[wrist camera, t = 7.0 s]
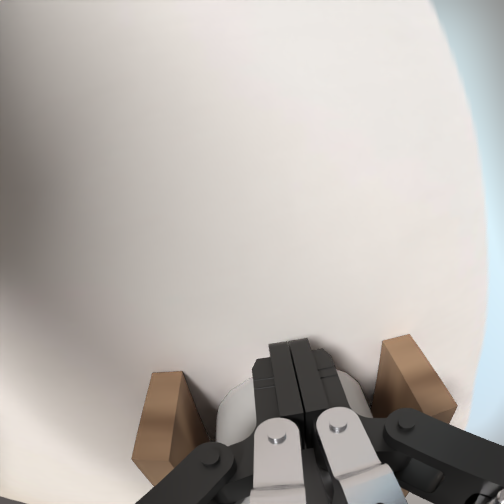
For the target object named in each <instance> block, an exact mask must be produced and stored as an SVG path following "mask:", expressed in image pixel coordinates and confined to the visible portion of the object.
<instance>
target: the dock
mask: <svg viewBox="0 0 504 504" xmlns="http://www.w3.org/2000/svg"><path fill="white" fill-rule="evenodd" d="M457 406H458V405H457V404H456V402H455V401H454V399H453V398H452V396H451V394H450V393H449V391H448V390H447V388H446V387H445V385H444V384H443V382H442V381H441V379H440V378H439V376H438V375H437V373H436V372H435V370H434V369H433V367H432V366H431V364H430V363H429V361H428V360H427V358H426V357H425V355H424V354H423V353H422V351H421V350H420V348H419V347H418V345H417V344H416V342H415V341H414V340H413V338H412V337H411V335H410V334H408V335H404V336H400V337H396V338H392V339H388V340H384V341H382V349H381V356H380V362H379V368H378V374H377V380H376V386H375V391H374V397H373V402H372V407H371V414H372V416H373V418H387V417H388V416H389V415H390V414H391V413H392V412H393V411H395V410H397V409H400V408H412V409H415V410H418V411H420V412H422V413H424V414H427V415H429V416H431V417H433V418H436V419H438V420H440V421H443V422H445V423H447V424H449V423H450V421H451V419H452V417H453V415H454V413H455V410H456V408H457ZM206 442H210V440H209V438H208V435H207V433H206V431H205V428H204V426H203V423H202V421H201V419H200V416H199V414H198V411H197V409H196V406H195V404H194V401H193V398H192V396H191V393H190V391H189V388H188V385H187V383H186V380H185V377H184V375H183V372H182V371H177V372H160V373H152V376H151V380H150V384H149V388H148V391H147V395H146V399H145V403H144V407H143V411H142V415H141V419H140V424H139V428H138V432H137V436H136V441H135V445H134V450H133V454H132V461H133V462H134V463H135V464H136V466H137V467H138V468H139V469H140V470H141V472H142V473H143V474H144V475H145V476H146V478H147V479H148V480H149V481H150V482H151V484H152V485H153V486H156V485H157V484H158V483H159V482H160V481H161V480H162V479H163V478H164V477H165V476H166V475H168V474H169V473H170V472H171V471H172V470H173V469H174V468H175V467H176V466H177V465H178V464H179V463H180V462H181V461H182V460H183V459H184V458H185V457H186V456H187V455H188V454H190V453H191V452H192V451H193V450H194V449H195V448H196V447H197V446H199V445H201V444H203V443H206ZM400 488H401V487H400ZM401 490H402V492H403V494H404V497H406V496H407V494H408V493H409V491H407V490H405V489H403V488H401Z"/></svg>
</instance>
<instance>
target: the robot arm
mask: <svg viewBox="0 0 504 504" xmlns="http://www.w3.org/2000/svg"><path fill="white" fill-rule="evenodd" d="M288 344H289V346H288ZM269 351H270V357H268V358H261V359H257V360H256V362H255V364H254V366H253V368H252V374H253V386H254V398H255V410H256V427H255V429H254V431H253V433H252V434H251V435H250V436H249V437H248V438H246V439H245V440H243V441H241V442H238V443H235V444H233V445H230V446H226V445H225V444H222V443H219V442H206V443H203V444H201V445H199V446H197V447H196V448H195V449H194V450H193V451H192V452H191V453H190V454H188V455H187V456H186V457H185V458H184V459H183V460H182V461H181V462H180V463H179V464H178V465H177V466H176V467H175V468H174V469H173V470H172V471H171V472H170V473H169V474H168V475H166V476H165V477H164V478H163V479H162V480H161V481H160V482H159V483H158V484H157V485H156V486H154V487H153V488H152V489H151V490H150V491H149V492H148V493H147V494H146V495H144V496H143V497H142V498H141V499H140V500H139V501H138V502H136V503H135V504H241V503H242V502H243V501H244V500H245V498H246V497H249V496H250V504H306V495H305V486H304V479H303V467H302V465H303V462H302V450H305V444H306V449H310V448H313V449H314V454H315V464H316V468H317V471H318V474H319V477H320V480H321V483H322V486H323V489H324V492H325V495H326V499H327V502H328V504H408V503H407V501H406V499H405V497H404V494H403V492H402V490H401V488H403V489H405V490H407V491H409V492H411V493H413V494H415V495H417V496H419V497H421V498H423V499H426V500H428V501H430V502H432V503H434V504H504V446H502V445H499V444H496V443H494V442H491V441H488V440H486V439H484V438H481V437H479V436H476V435H473V434H471V433H469V432H466V431H464V430H461V429H459V428H457V427H454V426H452V425H450V424H447V423H445V422H443V421H440V420H438V419H436V418H433V417H431V416H429V415H427V414H424V413H422V412H420V411H418V410H415V409H412V408H400V409H397V410H395V411H393V412H392V413H391V414H390V415H389V416H388V417H387V418H368V417H363V416H361V415H359V414H357V413H355V412H354V411H353V410H352V409H351V407H350V405H349V403H348V400H347V398H346V395H345V392H344V389H343V387H342V384H341V381H340V379H339V376H338V373H337V370H336V368H335V365H334V362H333V360H332V357H331V356H330V355H329V354H328V353H327V352H326V351H325V350H324V349H323V348H322V349H317V350H311V348H310V344H309V341H308V339H307V338H304V339H298V340H292V341H288V342H287V341H286V342H280V343H273V344H269ZM400 487H401V488H400Z"/></svg>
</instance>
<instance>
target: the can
mask: <svg viewBox="0 0 504 504" xmlns="http://www.w3.org/2000/svg"><path fill="white" fill-rule="evenodd" d="M337 373H338V376H339V379H340V381H341V384H342V387H343V389H344V392H345V395H346V398H347V400H348V403H349V405H350V407H351V409H352V410H353V411H354V412H355V413H357V414H359V415H361V416H363V417H368V418H373V416H372V414H371V411H370V409H369V406H368V404H367V401H366V399H365V397H364V394H363V392H362V389H361V387H360V385H359V383H358V382H357V381H356V380H354V379H353V378H352V377H351V376H350V375H348V374H347V373H345V372H342V371H339V370H337ZM255 427H256V410H255V398H254V386H253V377H252V378H249V379H248V380H246V381H245V382H243V383H242V384H240V385H239V386H237V387H236V388H234V389H233V390H231V391H230V392H229V393H228V395H227V396H226V397H225V398H224V400H223V401H222V402H221V404H220V405H219V409H218V414H217V419H216V442H219V443H222V444H225V445H226V446H230V445H233V444H235V443H238V442H241V441H243V440H245V439H246V438H248V437H249V436H250V435H251V434H252V433H253V431H254V429H255ZM302 462H303V465H302V467H303V479H304V486H305V495H306V504H328V502H327V499H326V495H325V492H324V489H323V486H322V483H321V480H320V477H319V474H318V471H317V468H316V464H315V454H314V449H313V448H310V449H306V444H305V450H302ZM241 504H250V496H249V497H246V498H245V500H244V501H243V502H242V503H241Z"/></svg>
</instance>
